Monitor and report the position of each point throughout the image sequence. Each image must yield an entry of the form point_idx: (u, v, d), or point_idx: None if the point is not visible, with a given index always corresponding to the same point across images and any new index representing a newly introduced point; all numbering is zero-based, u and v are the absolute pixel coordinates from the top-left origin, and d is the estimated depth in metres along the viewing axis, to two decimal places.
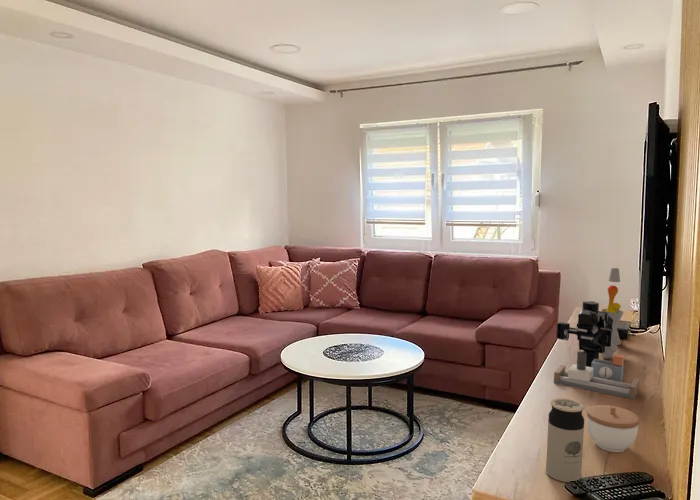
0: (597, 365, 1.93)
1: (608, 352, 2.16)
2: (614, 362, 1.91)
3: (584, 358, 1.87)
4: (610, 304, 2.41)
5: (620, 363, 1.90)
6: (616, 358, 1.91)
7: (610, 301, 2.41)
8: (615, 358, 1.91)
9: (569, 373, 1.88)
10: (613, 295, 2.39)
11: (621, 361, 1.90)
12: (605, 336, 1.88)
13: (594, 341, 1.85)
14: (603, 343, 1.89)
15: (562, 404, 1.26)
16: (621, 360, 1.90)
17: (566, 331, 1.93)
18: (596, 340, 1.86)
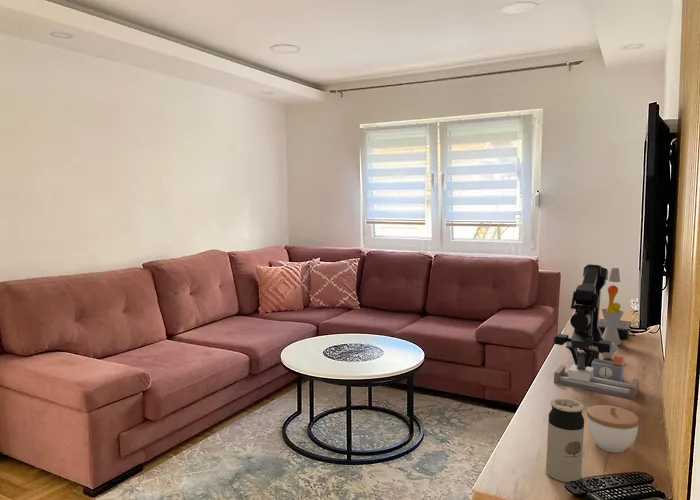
0: (597, 365, 1.93)
1: None
2: (614, 362, 1.91)
3: (584, 358, 1.87)
4: (610, 304, 2.41)
5: (620, 363, 1.90)
6: (616, 358, 1.91)
7: (610, 301, 2.41)
8: (615, 358, 1.91)
9: (569, 373, 1.88)
10: (613, 295, 2.39)
11: (621, 361, 1.90)
12: None
13: (587, 365, 1.88)
14: None
15: (562, 404, 1.26)
16: (621, 360, 1.90)
17: (574, 355, 1.89)
18: (589, 361, 1.88)
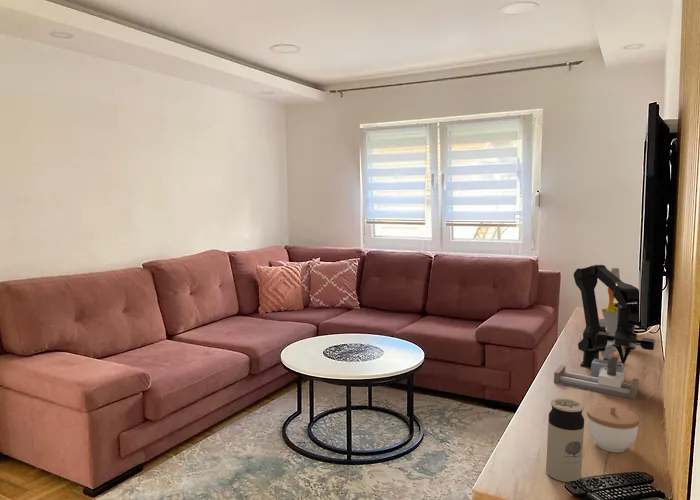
0: (597, 365, 1.93)
1: (608, 352, 2.16)
2: None
3: (615, 363, 1.82)
4: (610, 304, 2.41)
5: None
6: None
7: (610, 301, 2.41)
8: None
9: (599, 379, 1.82)
10: None
11: None
12: None
13: None
14: None
15: (562, 404, 1.26)
16: None
17: (621, 353, 1.90)
18: (626, 358, 1.90)
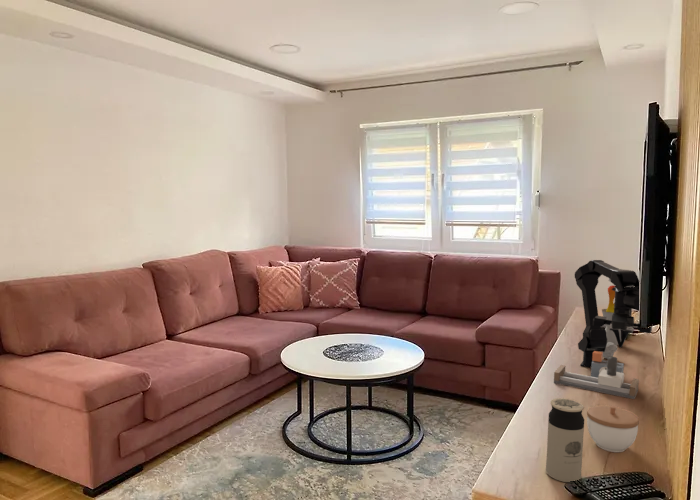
0: (597, 365, 1.93)
1: (608, 352, 2.16)
2: (593, 358, 1.95)
3: (615, 363, 1.82)
4: (610, 304, 2.41)
5: (599, 359, 1.94)
6: (595, 354, 1.95)
7: (610, 301, 2.41)
8: (594, 354, 1.95)
9: (599, 379, 1.82)
10: (613, 295, 2.39)
11: (600, 357, 1.94)
12: None
13: (622, 345, 1.90)
14: None
15: (562, 404, 1.26)
16: (600, 356, 1.94)
17: (618, 337, 1.89)
18: (623, 342, 1.90)
